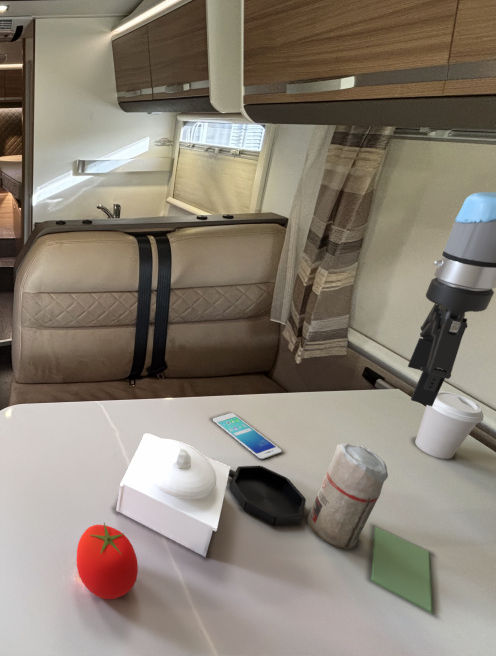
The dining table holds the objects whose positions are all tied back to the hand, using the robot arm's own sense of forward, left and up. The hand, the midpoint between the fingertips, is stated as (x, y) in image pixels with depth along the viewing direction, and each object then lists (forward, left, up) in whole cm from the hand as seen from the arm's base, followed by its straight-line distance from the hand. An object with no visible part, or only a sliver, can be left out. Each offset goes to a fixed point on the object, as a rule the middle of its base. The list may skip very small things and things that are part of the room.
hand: (419, 384), depth 81 cm
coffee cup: (-11, -29, -31) cm, 44 cm away
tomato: (+35, +54, -31) cm, 71 cm away
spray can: (+5, +14, -31) cm, 34 cm away
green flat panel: (-5, +15, -30) cm, 34 cm away
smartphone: (+25, -3, -31) cm, 39 cm away
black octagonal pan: (+21, +15, -30) cm, 40 cm away
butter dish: (+32, +30, -31) cm, 53 cm away
